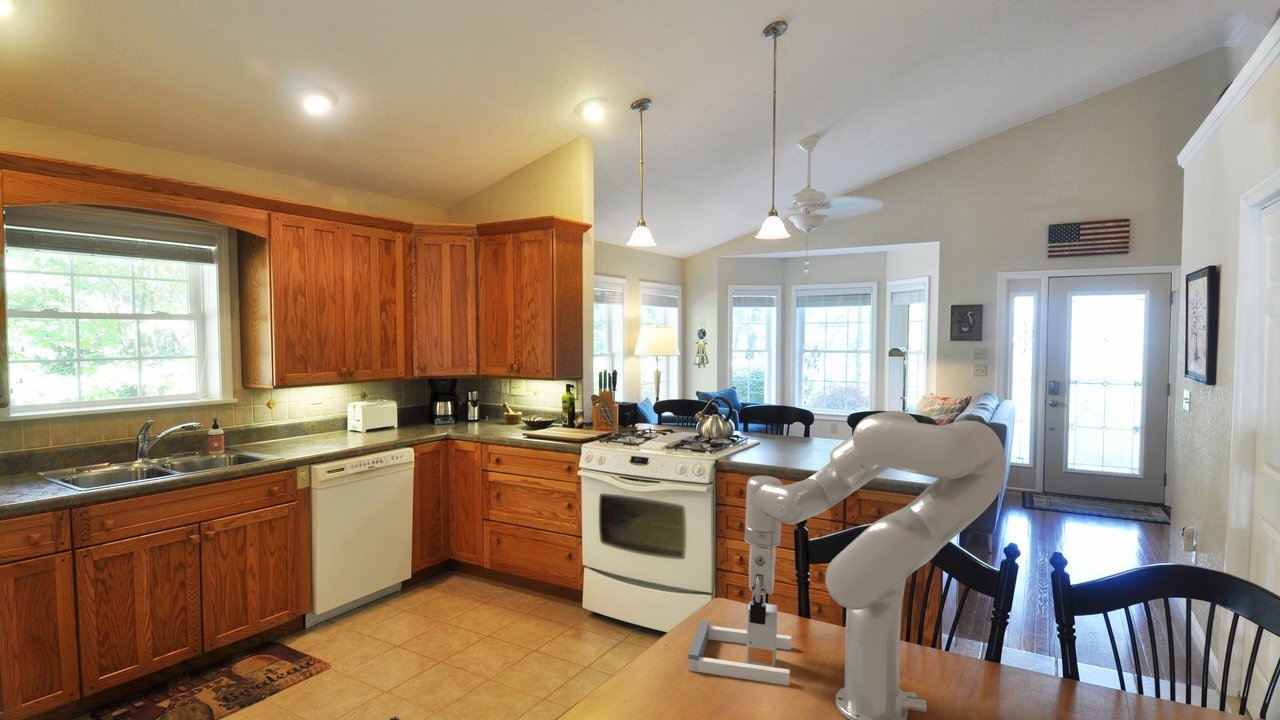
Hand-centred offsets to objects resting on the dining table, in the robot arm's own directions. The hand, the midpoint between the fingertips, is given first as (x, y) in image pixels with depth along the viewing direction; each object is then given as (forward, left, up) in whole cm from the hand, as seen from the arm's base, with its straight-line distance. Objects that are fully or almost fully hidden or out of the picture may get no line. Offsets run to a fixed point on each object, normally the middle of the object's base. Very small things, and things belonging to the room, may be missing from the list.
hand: (759, 612), depth 134 cm
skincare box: (-1, 0, -11) cm, 11 cm away
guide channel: (+3, 0, -10) cm, 11 cm away
